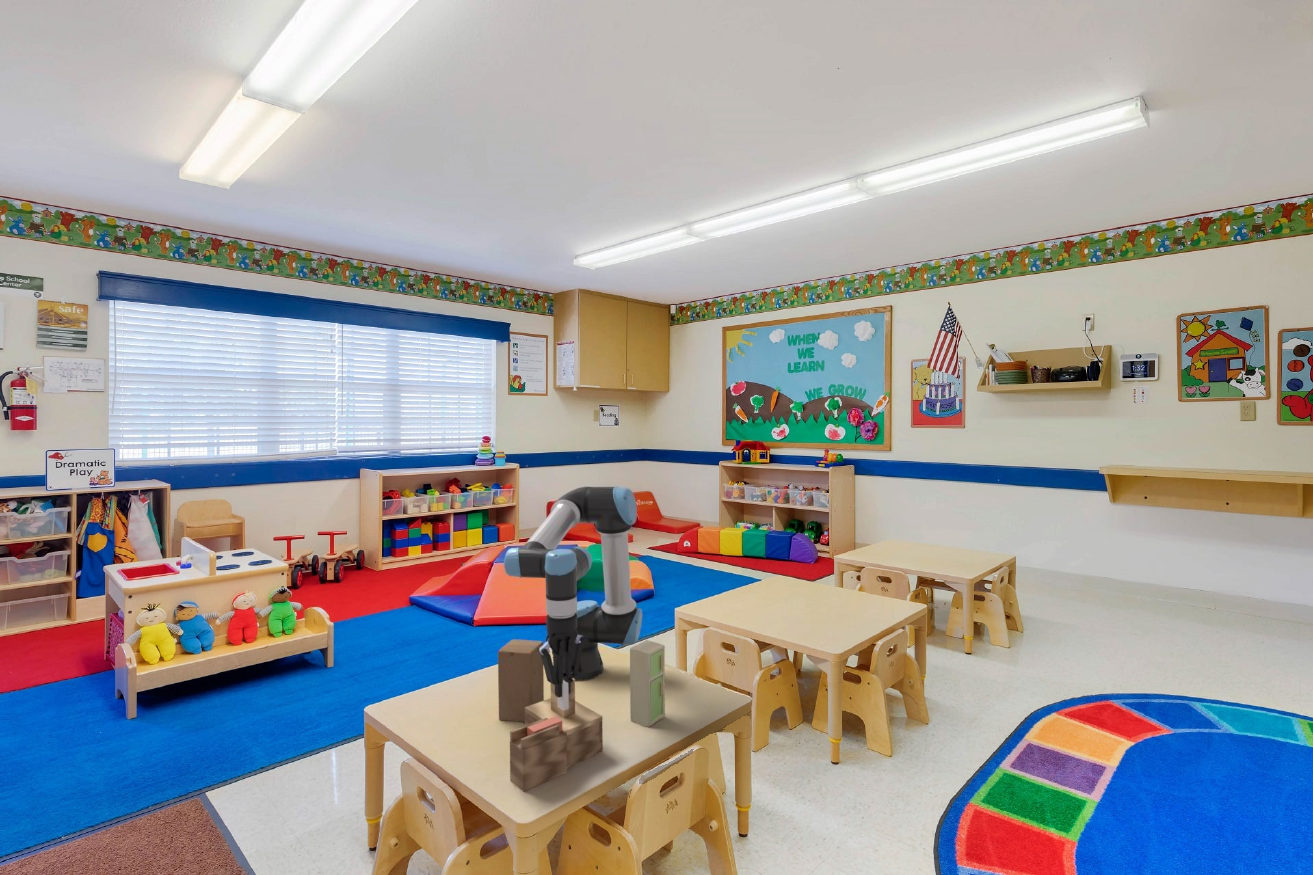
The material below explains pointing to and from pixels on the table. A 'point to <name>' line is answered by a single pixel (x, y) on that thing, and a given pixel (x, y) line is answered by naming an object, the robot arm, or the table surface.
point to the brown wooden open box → (549, 752)
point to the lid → (565, 712)
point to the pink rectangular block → (544, 725)
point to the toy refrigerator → (647, 683)
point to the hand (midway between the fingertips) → (563, 707)
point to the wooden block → (519, 678)
